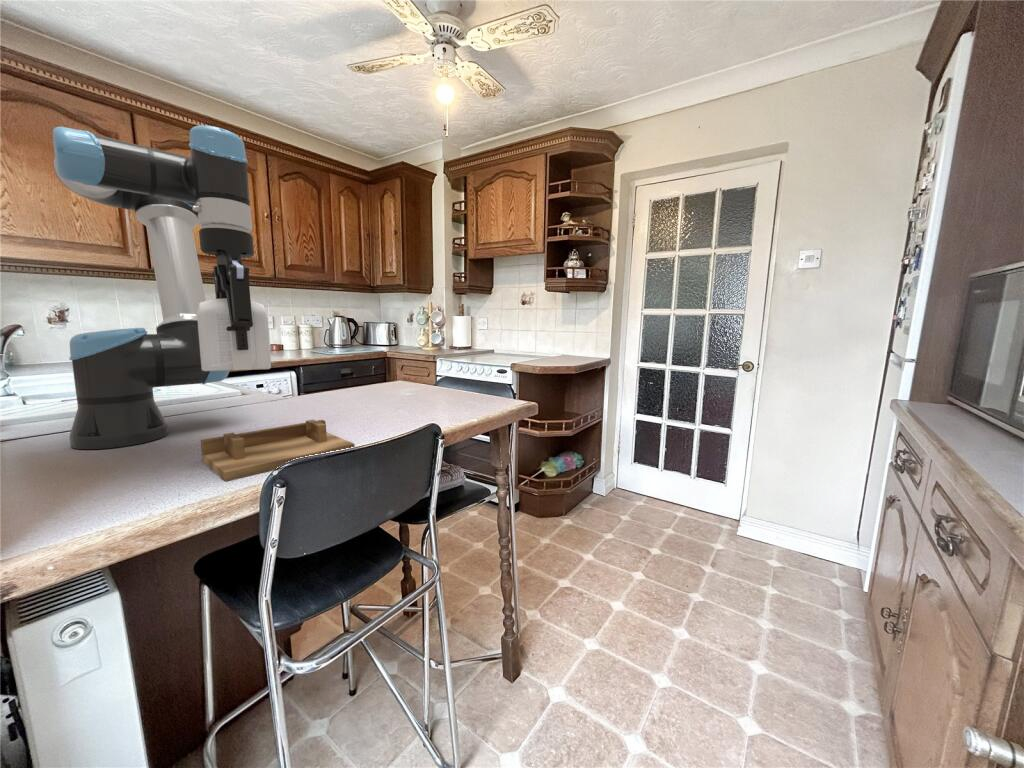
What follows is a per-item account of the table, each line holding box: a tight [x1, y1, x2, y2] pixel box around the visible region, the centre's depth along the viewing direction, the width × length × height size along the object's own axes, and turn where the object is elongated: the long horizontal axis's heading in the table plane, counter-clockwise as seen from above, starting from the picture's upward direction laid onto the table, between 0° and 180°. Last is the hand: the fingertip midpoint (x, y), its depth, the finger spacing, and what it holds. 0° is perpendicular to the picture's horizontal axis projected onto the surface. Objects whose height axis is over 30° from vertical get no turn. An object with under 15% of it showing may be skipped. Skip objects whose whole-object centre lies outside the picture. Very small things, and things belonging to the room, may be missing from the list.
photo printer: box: [197, 298, 272, 371], centre depth 72 cm, size 10×4×12 cm, turn 122°
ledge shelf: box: [200, 419, 355, 482], centre depth 79 cm, size 14×22×5 cm, turn 138°
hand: (238, 367), depth 73 cm, fingers closed on photo printer, 5 cm apart
